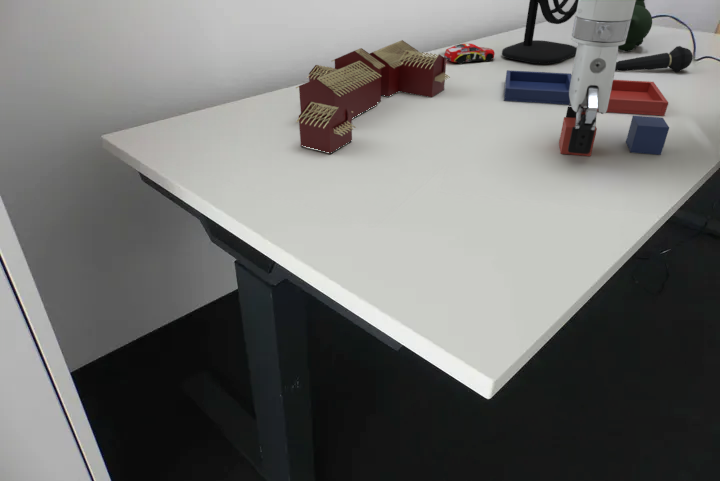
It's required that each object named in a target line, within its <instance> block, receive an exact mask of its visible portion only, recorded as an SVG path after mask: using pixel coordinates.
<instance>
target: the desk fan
mask: <svg viewBox="0 0 720 481" xmlns="http://www.w3.org/2000/svg"><path fill="white" fill-rule="evenodd" d="M578 1H579V0H574V2H573V4H572V5H571V6H570V8H569V10H567V11H565V10H563V8H564V7H565V6H566V5H567V3H568V2H569V0H562V1H561V2H559V0H552V2H553V6H554V8H552V9H551V6H550V3H549V0H529V3H528V8H527V9H528V10H527V16H526V21H525V22H526V23H525V28H524V29H525V30H524V36H523V41H521V42H518V43H514V44H512V45H510V46H506V47H505V48H503V49H502V51H501V55H502V56H503V57H504V58H506V59H509V60H515V61H520V62H525V63H530V64H538V65H539V64H541V65H543V64H546V65H547V64H554V63H559V62H562V61H564V60H567V59H569V58H571V57H573V56H574V57H575V55H576V51H577V46H575V45H572V44H568V43H561V42H556V41H549V40H535V39H534V34H535V28H536V23H537V22H536V21H537V16H538V8H540V12H541V14H542V16H543V18H544V20H545V21H547V22H548V23H549V24H552V25H562V24H565V23H566V22H568V21H569V20H570V19H571V18H573V16H574V15H576V11H577V6H578ZM556 13H558V14H560V15H562V17H560V18H557V17H556V16H555V15H554V14H556Z"/></svg>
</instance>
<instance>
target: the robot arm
mask: <svg viewBox="0 0 720 481" xmlns="http://www.w3.org/2000/svg"><path fill="white" fill-rule="evenodd" d="M635 2H636V0H579V1H578V6H577V11H576V12H575V16H574V20H573V21H574V23H573V27H572V32H571V38H570V41H572V42H575V43H577V46H576V48H577V51H576V54H575V55H574V61H573V65H572V70H571V81H570V88H569V98H570V102H569V105H568V106H567V108H566V113H565V117H569V118H576V121H575V127H573V128H572V132H571V137H570V142H569V146H568V151H569V152H570V153H581V154H589V153H590V149H591V145H592V141H593V137H594V133H595V126H596V127H597V117H598V116H597V115H598V113H600V114H601V115H604V114H606V113H607V112H606V111H607V108H608V103H609V98H610V93H611V88H612V83H613V80H614V78H615V73H616V71H615V68H616V62H618V61H617V60H618V53H619V49H618V46H619V45H623V44H625V42H626V38H627V34H628V30H629V26H630V22H631V18H632V14H633V10H634V6H635ZM597 108H598V111H599V112H597ZM580 120H581V121H580Z"/></svg>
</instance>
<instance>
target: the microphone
mask: <svg viewBox="0 0 720 481" xmlns="http://www.w3.org/2000/svg"><path fill="white" fill-rule="evenodd" d="M693 59H694V58H693V53H692V51H691V49H689V48H688V47H683V46H681V45H678V46H675V47H674V48H673V49H671V51H670V52H669V53H668V52H663V53H657V54H652V55H645V56H640V57H639V56H638V57H634V58H628V59H623V60H618V61H617V62H616V68H615V72H617V71H618V72H627V71H645V70H646V71H649V70H651V71H652V70H659V69H660V70H661V69H670V70H672V71H673V72H675V73H679V72H681V71H683V70H685V69H687V68H689V66H690V65H691V64H692V62H693Z"/></svg>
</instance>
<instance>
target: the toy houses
mask: <svg viewBox="0 0 720 481" xmlns="http://www.w3.org/2000/svg"><path fill="white" fill-rule="evenodd" d="M330 61H331V62H334V67H331V66H325V65H321V64H315V65H314V66H313V68H311V70H310V71H309V73H308V76H307V77H306V79H308V81H307V82H305V83H303V84H299V85H298V86H295V89H298V92H299V106H300V113H299V115H298V119H297V120H296V123H298V128H299V140H300V146H301V145H303V146H306V147H310V148H314V149H318V150H321V151H325V152H329V153H331V152H333V151H335V150H336V149H338V148H339V147H341V146H343V145H345V144H346V143H348V142H350V141H351V140H352V141H353V130H354V129H356V128H357V127H356V125H354V124H353V122H352V121H353V119H352V118H353V117H355V116H357V115H358V114H360V113H362V112H364V111H366V110H368V109H369V108H371V107H373V106H375V105H377V106H378V103H377V102H379V101H381V102H382V96H381V95H385V96H390V95H392V94H394V93H395V94H397V93H399V92H398V91H402V92H401V93H404V92H406V93H405V94H410V93H411V94H410V95H415V94H416V96H421V95H422V96H421V97H427V96H428V98H434V97H435V96H436V95H439V94H440V93H441V92H443V91H444V90H445V84H446V83H445V81H447V80H448V79H449V78H451V76H450V75H449V74H446V71H447V70H446V69H447V61H448V60H447V59H446V58H444V56H442V55H441V54H440V53H439V54H436V53H434V54H433V53H431V52H430V53H429V52H423V51H422V52H420V51H419V50H418V49H416V48H415V47H413V46H412V45H410V44H409V43H408V42H406V41H405V40H403V39H401V40H399V41H396V42H394V43H391V44H389V45H386V46H384V47H382V48H379V49H377V50H374V51H372V52H370V53H369V52H368V51H366V50H365V49H363V48H362V47H360V48H358V49H355V50H353V51H350V52H348V53H346V54H344V55H342V56H338V57H337V58H334V59H332V60H330ZM442 90H443V91H442ZM396 92H397V93H396ZM439 92H440V93H439ZM395 94H394V95H395ZM385 96H384V97H385ZM392 96H393V95H392ZM390 97H391V96H390ZM379 103H380V102H379ZM350 143H351V142H350ZM348 144H349V143H348ZM345 146H346V145H345ZM343 147H344V146H343ZM335 152H336V151H335Z"/></svg>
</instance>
